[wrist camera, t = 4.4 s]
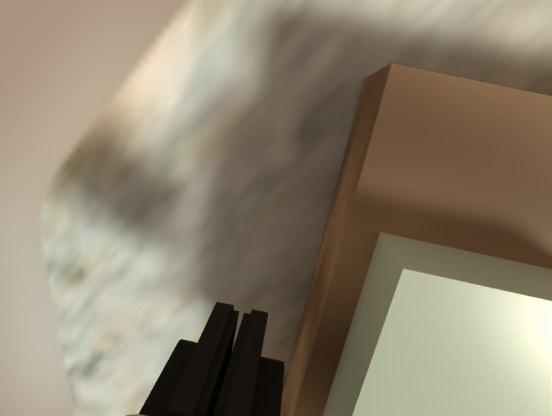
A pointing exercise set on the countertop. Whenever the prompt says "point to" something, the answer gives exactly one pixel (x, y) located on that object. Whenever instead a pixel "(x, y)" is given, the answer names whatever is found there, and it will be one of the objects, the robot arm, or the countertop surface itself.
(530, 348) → the pale green flat block
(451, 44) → the countertop surface
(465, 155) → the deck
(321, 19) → the countertop surface
